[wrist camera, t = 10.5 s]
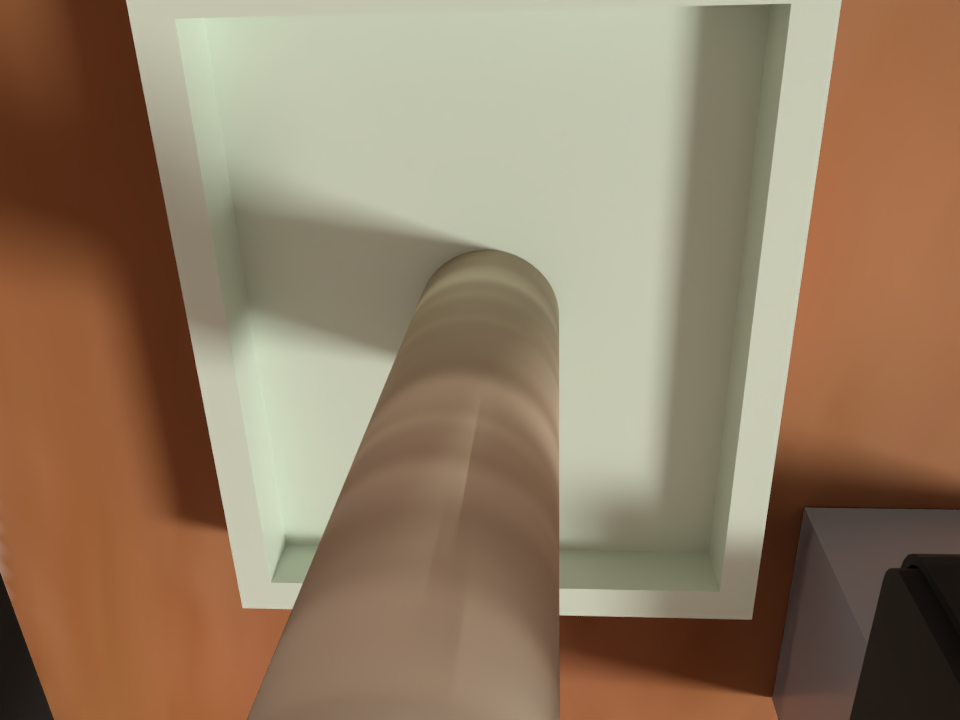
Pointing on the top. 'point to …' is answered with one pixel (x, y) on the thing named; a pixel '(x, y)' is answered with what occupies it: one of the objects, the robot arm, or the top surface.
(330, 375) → the tray
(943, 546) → the holder
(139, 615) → the top surface
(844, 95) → the top surface
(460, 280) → the dowel
